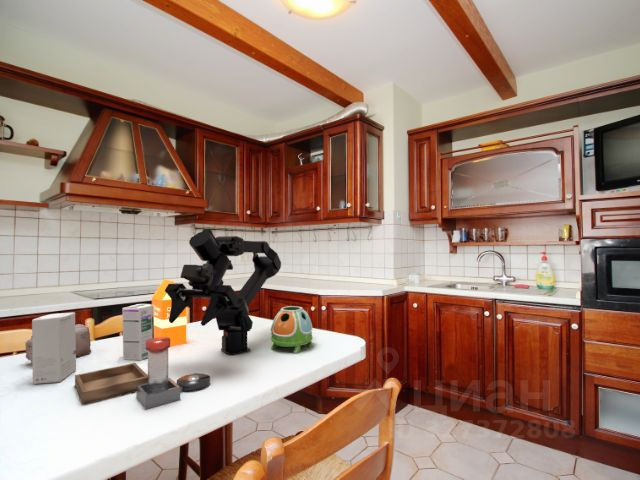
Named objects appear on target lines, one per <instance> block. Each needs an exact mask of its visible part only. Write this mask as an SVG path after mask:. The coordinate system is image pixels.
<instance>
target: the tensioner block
mask: <svg viewBox="0 0 640 480" xmlns="http://www.w3.org/2000/svg"><path fill="white" fill-rule="evenodd" d="M210 384H211V376H210V375H209V374H207V373H204V372H201V373H200V372H198V373H197V372H196V373H189V374H185V375H183V376H180V377H178V378H177V379H176V382H175V381H174V380H173V379H172V378H170V377H168V389H167V390H163V391H159V392H155V393H152V394H148V383H147V384H142V385H138V386H136V392H135V393H136V397H135V398H136V399H137V401H138V402H139V404H140V405H141V406H142V408H143V409H144V410H148V409H152V408H156V407H159V406H162V405H166V404H169V403H172V402H176V401H179V400H181V393H183V392H184V393H191V392H192V393H193V392H198V391H201V390H204V389H206V388H208V387H209V386H210Z"/></svg>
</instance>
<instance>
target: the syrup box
mask: <svg viewBox="0 0 640 480" xmlns="http://www.w3.org/2000/svg"><path fill="white" fill-rule="evenodd" d="M121 311H122V312H121V314H122V356H123V358H122V359H123V360H127V361H143V360H145V359H148V350H146V340H148V339H151V338H154V305H152V303H137V304H134V305H130V306H126V307H122V310H121Z"/></svg>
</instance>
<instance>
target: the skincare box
mask: <svg viewBox="0 0 640 480" xmlns="http://www.w3.org/2000/svg"><path fill="white" fill-rule="evenodd" d="M75 325H76V312H64V313H63V312H61V313H60V312H59V313H50V314H46V315H43V316H42V315H41V316H39V317H36V318H34V319H32V321H31V331H32V332H31V334H32V335H31V336H32V358H33V362H32V385H36V384H37V385H39V384H52V383H54V384H55V383H61V382H62V381H64V380H65V379H66V378H67V377H69V376H70V375H71V374H73V373H75V372H76V371H77V357H76V334H75Z"/></svg>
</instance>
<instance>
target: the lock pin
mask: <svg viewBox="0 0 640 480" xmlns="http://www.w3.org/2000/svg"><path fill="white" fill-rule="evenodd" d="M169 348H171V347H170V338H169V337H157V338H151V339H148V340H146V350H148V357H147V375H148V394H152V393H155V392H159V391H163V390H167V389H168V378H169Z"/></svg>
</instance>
